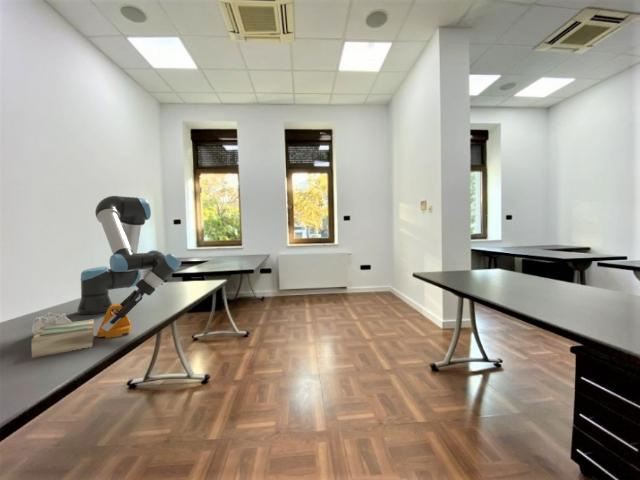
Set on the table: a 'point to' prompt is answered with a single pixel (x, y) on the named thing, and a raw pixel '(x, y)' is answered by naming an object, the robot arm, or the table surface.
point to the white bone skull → (49, 321)
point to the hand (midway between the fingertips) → (104, 326)
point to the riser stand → (63, 338)
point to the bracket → (119, 327)
